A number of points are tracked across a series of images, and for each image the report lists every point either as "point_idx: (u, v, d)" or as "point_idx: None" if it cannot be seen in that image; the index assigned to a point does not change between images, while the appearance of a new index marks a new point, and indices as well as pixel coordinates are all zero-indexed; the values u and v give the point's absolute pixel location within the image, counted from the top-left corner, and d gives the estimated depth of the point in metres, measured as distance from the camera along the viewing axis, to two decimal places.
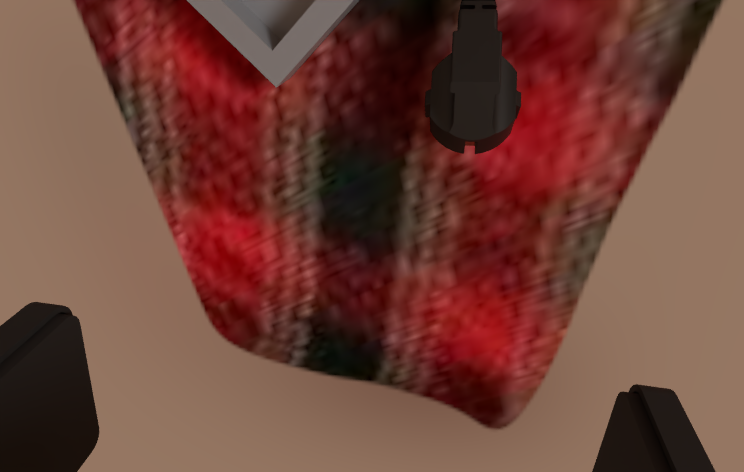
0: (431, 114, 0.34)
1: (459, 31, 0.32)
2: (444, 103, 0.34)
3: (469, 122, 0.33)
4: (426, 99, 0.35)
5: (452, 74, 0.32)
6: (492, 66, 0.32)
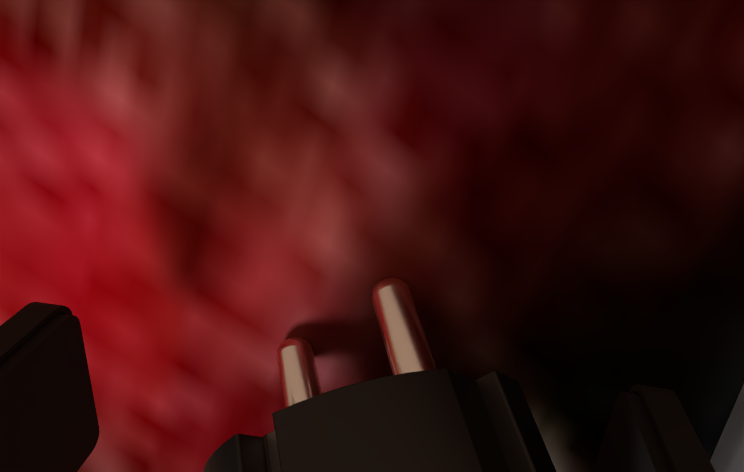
0: None
1: None
2: None
3: None
4: None
5: None
6: None
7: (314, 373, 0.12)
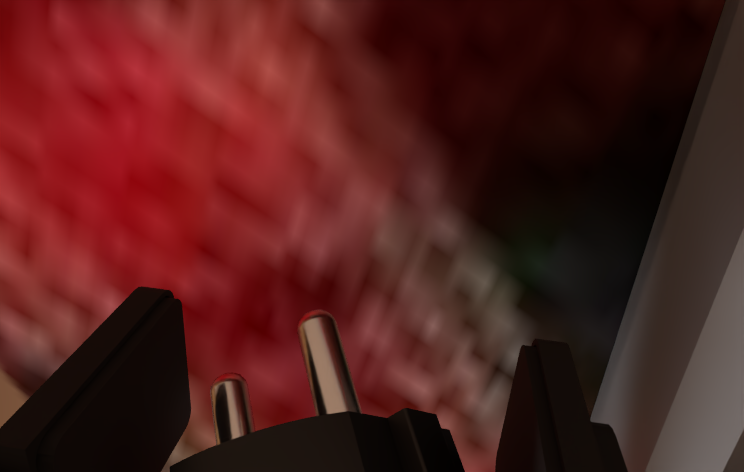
0: None
1: None
2: None
3: None
4: None
5: None
6: None
7: (246, 409, 0.11)
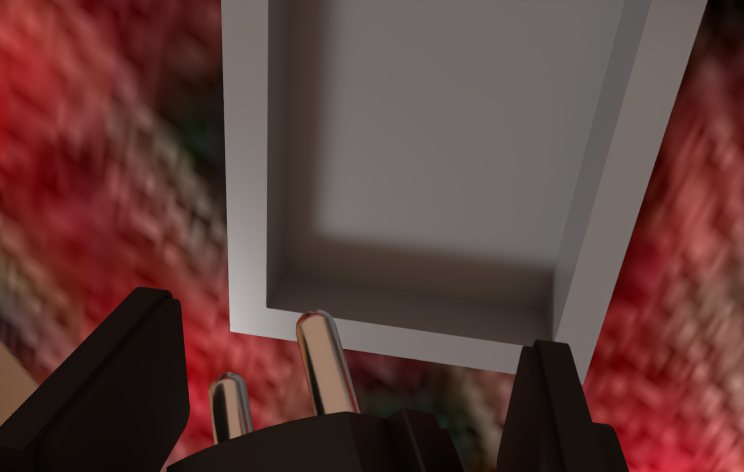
0: None
1: None
2: None
3: None
4: None
5: None
6: None
7: (245, 410, 0.11)
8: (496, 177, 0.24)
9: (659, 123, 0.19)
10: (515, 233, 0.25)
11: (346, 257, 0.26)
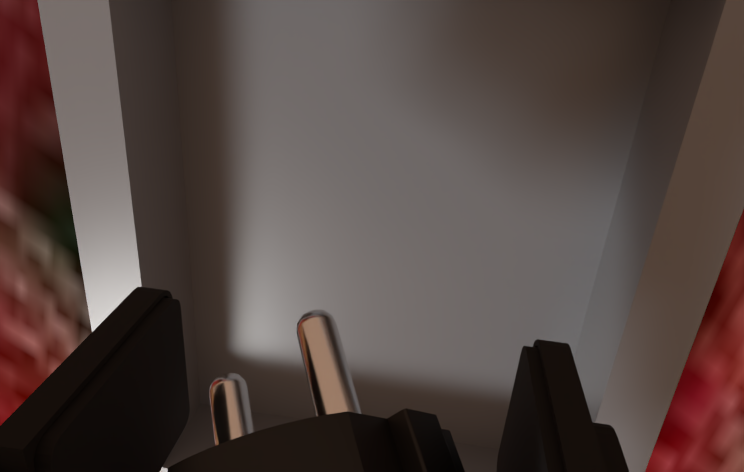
0: None
1: None
2: None
3: None
4: None
5: None
6: None
7: (246, 410, 0.11)
8: (477, 287, 0.17)
9: (719, 237, 0.12)
10: (507, 360, 0.18)
11: (280, 384, 0.20)
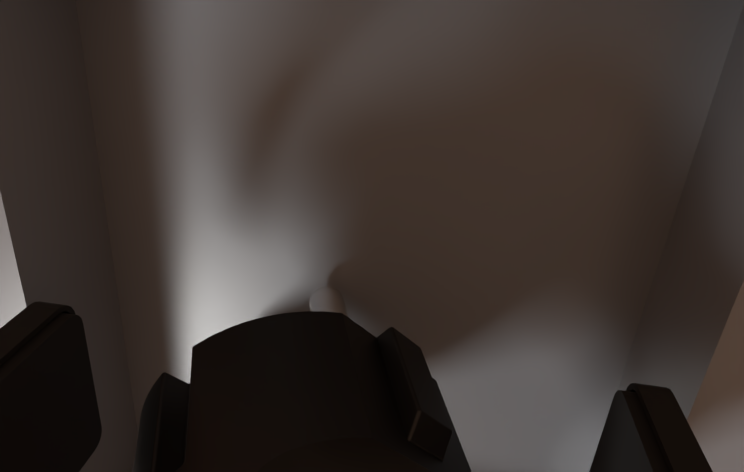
0: (371, 443, 0.08)
1: None
2: None
3: None
4: (430, 425, 0.09)
5: None
6: None
7: None
8: (480, 361, 0.13)
9: None
10: (516, 445, 0.14)
11: None
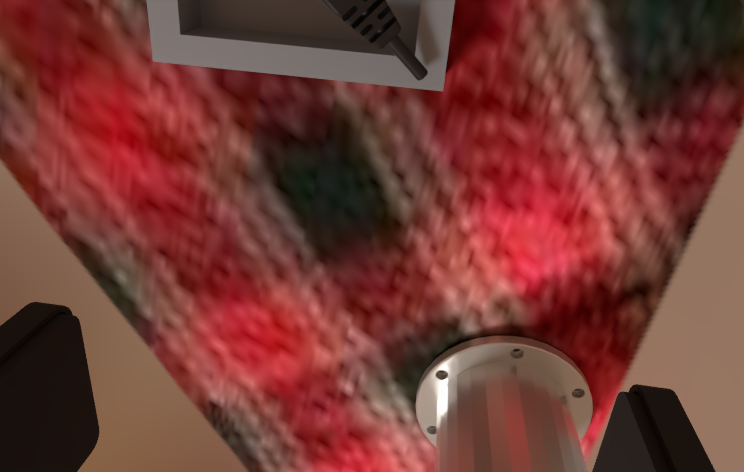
0: None
1: None
2: None
3: None
4: None
5: None
6: None
7: None
8: None
9: None
10: None
11: (251, 4, 0.31)
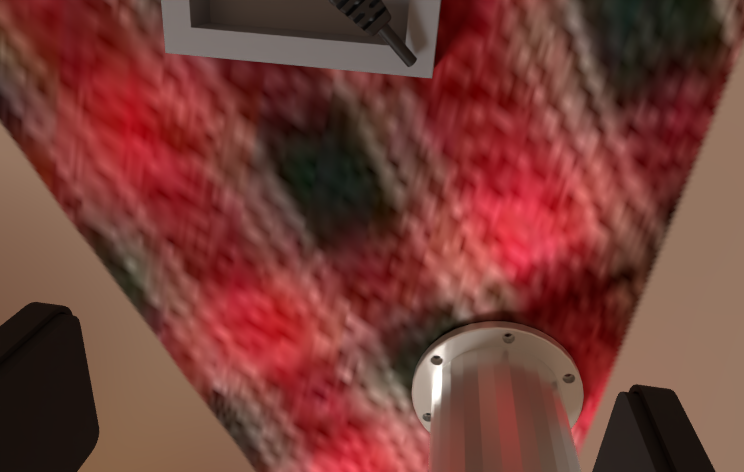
0: None
1: None
2: None
3: None
4: None
5: None
6: None
7: None
8: None
9: None
10: None
11: (256, 2, 0.34)
